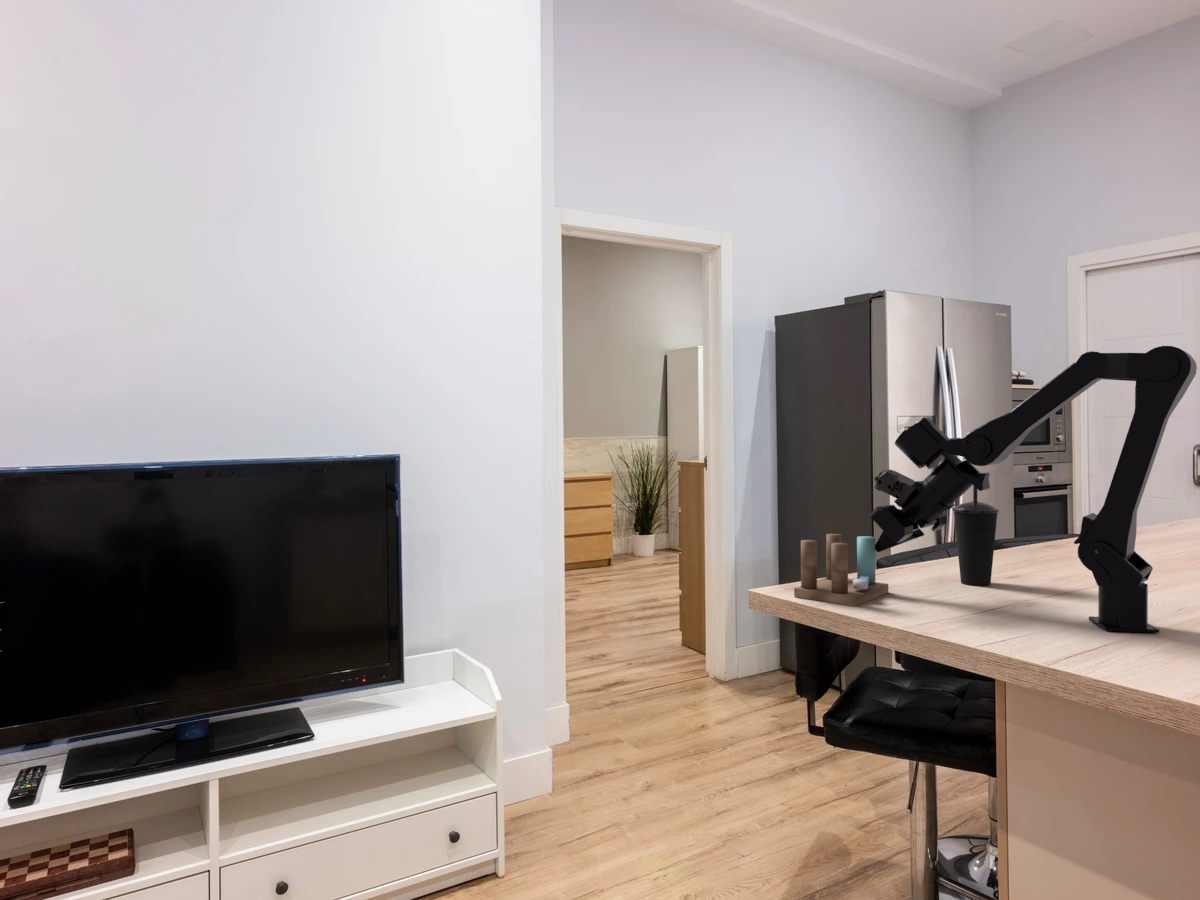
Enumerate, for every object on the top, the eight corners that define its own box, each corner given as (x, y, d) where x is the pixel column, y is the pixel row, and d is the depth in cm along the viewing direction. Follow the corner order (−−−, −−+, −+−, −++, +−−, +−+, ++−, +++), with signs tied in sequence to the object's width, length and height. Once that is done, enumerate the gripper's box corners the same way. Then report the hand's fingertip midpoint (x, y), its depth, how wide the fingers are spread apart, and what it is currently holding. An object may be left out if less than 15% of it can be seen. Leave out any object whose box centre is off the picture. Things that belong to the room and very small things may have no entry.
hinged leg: (868, 590, 124) (868, 544, 124) (849, 588, 125) (849, 543, 125) (876, 579, 132) (876, 536, 132) (858, 578, 134) (858, 535, 134)
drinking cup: (988, 579, 141) (988, 472, 140) (1006, 587, 133) (1006, 474, 133) (946, 579, 142) (945, 472, 141) (961, 587, 134) (961, 474, 133)
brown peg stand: (888, 592, 131) (888, 537, 131) (855, 606, 121) (855, 547, 121) (829, 584, 138) (829, 532, 138) (794, 597, 129) (793, 541, 128)
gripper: (927, 451, 134) (868, 509, 142) (881, 456, 120) (818, 521, 128) (975, 497, 128) (911, 556, 136) (932, 508, 115) (864, 572, 123)
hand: (876, 550), depth 131 cm, fingers closed, pressing on hinged leg
